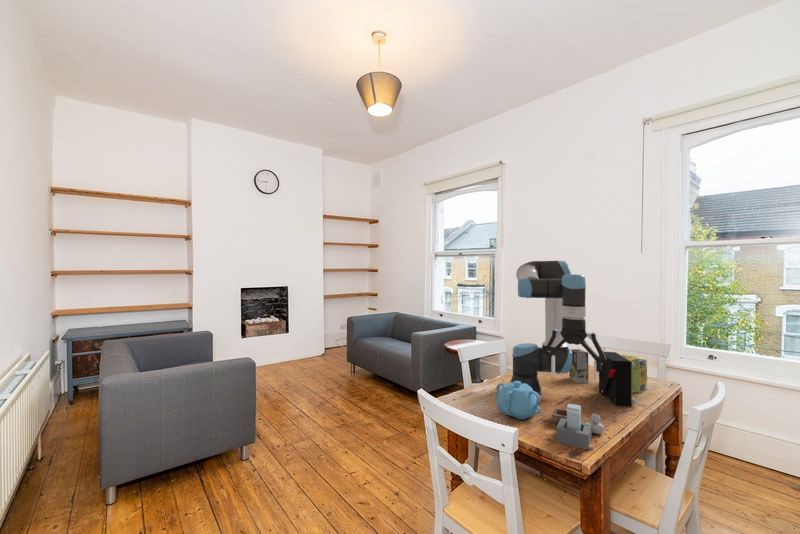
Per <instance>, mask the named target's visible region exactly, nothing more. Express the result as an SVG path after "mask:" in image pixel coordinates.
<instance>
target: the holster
mask: <svg viewBox="0 0 800 534" xmlns="http://www.w3.org/2000/svg"><path fill="white" fill-rule="evenodd" d="M561 418H565V419H567V409H565V408H559V407H554V409H553V412H552V413H551V426H552V425H553V426H556V427H557V425H558V423H559V421H560V419H561Z"/></svg>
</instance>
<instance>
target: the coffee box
mask: <svg viewBox="0 0 800 534" xmlns="http://www.w3.org/2000/svg"><path fill="white" fill-rule="evenodd" d="M570 349H571V348H570ZM571 351H572V364H571V368H570V371H569V372H568V373H569V375H568V376H569V378H568V379H570V380H572V381H573V382H575V383H577V384H588V383H589V353H588V351H584V350H582V349H580V348H577V349H573V348H572V349H571Z"/></svg>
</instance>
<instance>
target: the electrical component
mask: <svg viewBox="0 0 800 534" xmlns="http://www.w3.org/2000/svg"><path fill="white" fill-rule="evenodd" d="M603 352H604V354H605V356H606V358H607V360H606V361H605V362H601V370H600V372H598V393H599V394H601V396H605V397H606V398H607V399H608V400H609V401H610V402H611V403H612V404H613V405H614V406H615V407H625V406H629V408H631V407H633V405H635V404H636V400H635V398H633V392H632V368H634V367H635V364H634V363H633V362H631V361H630V360H628V359H626V358H625V357H623V356H622V355H623V354H622V355H619V354H620V353H619V352H616V351H615V352H614V351H603ZM598 357H599V358H601V357H600V355H599V354H598Z"/></svg>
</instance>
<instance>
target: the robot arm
mask: <svg viewBox="0 0 800 534" xmlns="http://www.w3.org/2000/svg"><path fill="white" fill-rule="evenodd" d="M515 275H516V279H517V296H518V297H519V298H526V299H529V298H531V299H534V298H536V299H544V312H545V313H544V316H545V317H544V318H545V319H544V320H545V321H544V322H545V323H544V325H545V326H544V328H545V331H544V332H545V333H544V334H545V339H544V341H543V342H542V343H541V347H540V346H538V344H537V343H528V342H526V343H525V342H524V343H520V344H515V345H514V346H513V347H512V355H511V357H512V376H511V379H510V382H513V381H520V382H521V384H523V383H526V384H528V385H529V386H530V387H531V388H532V389H533V391H535V392H537V393H538V394H539V396H540V397H541V395H542V387H541V384H540V381H539V377H538V376H539V375H538V373H551V376H554V375H555V374H568V373H569V371H570V368H571V364H572V351H571V348H569V345H575V346H577V345H581V346H582V347H583V348H584V349H585V350H586V352H587V353H588V355H590V356H591V357H592V359H593V360H594V361H593V382H594V383H595V382H596V383H597V381H598V373H599V372H600V370H601V362H605V361H606V360H607V358H606V356H605V354H604V352H605V351H604V350H603V349H602V347H601V345H600V343H599V341H598V340H597V334H596V332H591V333H590V332H589V333H588V332H587V331H586V328H587V327H586V324H587V323H586V321H587V320H586V319H585V318H586V310H587V309H586V308H587V307H586V290H587V289H586V287H587V284H586V276H585V275H583V274H572V272H571V268H570V265H569V263H568V262H567V261H565V260H532V261H528V262H526V263H523V264H522V265H520V266H519V267H518V268H517V270H516V274H515ZM587 337H588V339H589V340H591V342H592V344H593V346H594V347H595V349H596V351H597V352H596V351H594V350H593V348H592V347H591V346H590V345H589V344H588V342H587V341H586V339H587ZM599 355H600V357H601V358H599ZM510 382H509V383H510Z"/></svg>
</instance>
